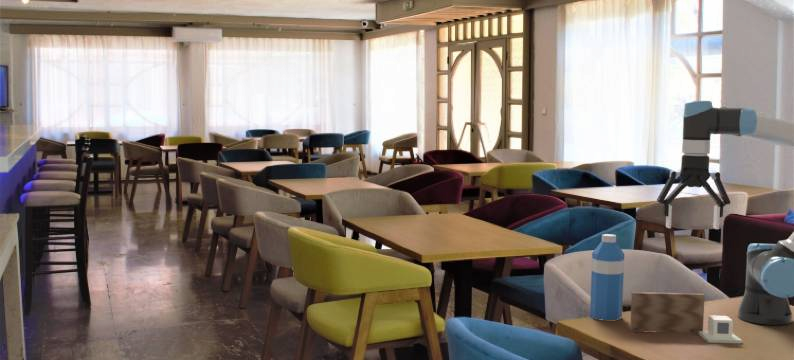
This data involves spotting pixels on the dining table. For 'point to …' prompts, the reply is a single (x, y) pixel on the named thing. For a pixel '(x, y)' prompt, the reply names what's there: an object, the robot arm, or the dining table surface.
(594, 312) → the water bottle
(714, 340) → the coaster
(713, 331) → the white cube
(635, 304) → the walnut screen
